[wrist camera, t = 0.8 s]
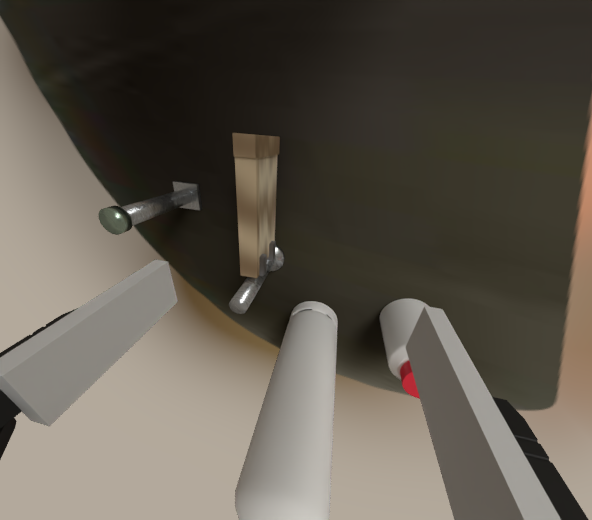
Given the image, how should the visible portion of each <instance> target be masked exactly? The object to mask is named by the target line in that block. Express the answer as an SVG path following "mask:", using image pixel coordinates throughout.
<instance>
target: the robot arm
mask: <svg viewBox="0 0 592 520" xmlns="http://www.w3.org/2000/svg"><path fill="white" fill-rule="evenodd" d="M177 302H178V300H177V297H176V292H175V288H174V284H173V280H172V276H171V272H170V268H169V264H168V262H167V261H161V260H154V261H152V262H150V263H149V264H147V265H146V266H145V267H143V268H141V269H139V270H138V271H136V272H135V273H133V274H131V275H130V276H128V277H127V278H125V279H124V280H122V281H121V282H119V283H117V284H116V285H114V286H113V287H111V288H109V289H108V290H106V291H105V292H103V293H101V294H100V295H98V296H97V297H96V298H94V299H92V300H90V301H89V302H87V303H86V304H84V305H82V306H81V307H79V308H77V309H75V310H73V311H70V312H68V313H65V314H63V315H61V316H59V317H58V318H56V319H54V320H53V321H51V322H50V323H48V324H46V326H45V327H41V328H40V329H38V330H37V331H35V332H34V333H33V334H32V335H29V336H27V337H25V338H24V339H22V340H21V341H19V342H17V343H16V344H14V345H12V346H11V347H9V348H8V349H6V350H4V351H3V352H1V353H0V459H1V457H2V455H3V452H4V450H5V448H6V446H7V444H8V442H9V439H10V437H11V435H12V433H13V431H14V429H15V425H16V420H15V418H14V417H15V416H16V415H18V414H19V413H20V412H21V411H22V412H23V413H24V414H25V415H26V416H27V417H28V418H29V419H30V420H31V421H34V422H37V423H40V424H44V425H47V426H50V425H51V424H52V423H53V422H55V421H56V420H57V419H58V417H60V415H62V414H63V413H64V412H65V411H66V410H67V409H68V408H69V407H70V406H71V405H72V404H73V403H74V402H75V401H76V400H77V399H78V398H79V397H80V396H81V395H82V394H83V393H84V392H85V391H86V390H88V388H90V387H91V386H92V385H93V384H94V383H95V382H96V381H97V380H98V379H99V378H100V377H101V376H102V375H103V374H104V373H105V372H106V371H107V370H108V369H109V368H110V367H111V366H112V365H113V364H114V363H115V362H116V361H117V360H118V359H119V358H121V356H123V355H124V354H125V353H126V352H127V351H128V350H129V349H130V348H131V347H132V346H133V345H134V344H135V343H136V342H137V341H138V340H139V339H140V338H141V337H142V336H143V335H144V334H145V333H146V332H147V331H148V330H149V329H150V328H151V327H152V326H153V325H155V324H156V323H157V322H158V321H159V320H160V319H161V318H162V317H163V316H164V315H165V314H166V313H167V312H168V311H169V310H170V309H171V308H172V307H173V306H174V305H175V304H176V303H177ZM406 351H407V354H408V358H409V361H410V365H411V369H412V372H413V376H414V379H415V383H416V386H417V390H418V393H419V397H420V400H421V404H422V407H423V411H424V414H425V417H426V421H427V425H428V428H429V432H430V435H431V439H432V442H433V445H434V449H435V453H436V456H437V460H438V463H439V467H440V470H441V474H442V477H443V481H444V484H445V488H446V491H447V495H448V498H449V502H450V505H451V509H452V512H453V516H454V519H455V520H588V518H587V517H586V515H585V514H584V512H583V510H582V509H581V507H580V506H579V504H578V503H577V501H576V500H575V498H574V496H573V495H572V493H571V492H570V490H569V489H568V487H567V485H566V484H565V482H564V481H563V479H562V477H561V476H560V474H559V473H558V471H557V470H556V468H555V466H554V465H553V463H551V462H550V461H549V457H548V456H547V454H546V452H545V451H544V449H543V448H542V446H541V444H538V442H537V438H536V437H535V435H534V433H533V432H532V430H531V429H530V427H529V426H528V424H527V422H526V421H525V419H524V418H523V417H522V416H521V415H520V414H519V413H518V412H517V411H516V410H515V409H514V408H513V407H512V406H511V404H510V403H509V402H508V401H507V400H503V399H499V398H494V397H492V396H491V395H490V393H489V391H488V389H487V388H486V386H485V384H484V382H483V380H482V379H481V377H480V375H479V373H478V372H477V370H476V368H475V366H474V365H473V363H472V361H471V359H470V357H469V356H468V354H467V352H466V350H465V349H464V347H463V345H462V343H461V341H460V340H459V338H458V336H457V334H456V333H455V331H454V329H453V327H452V326H451V324H450V322H449V320H448V318H447V317H446V315H445V313H444V311H443V310H442V309H438V308H432V307H426V306H424V308H423V310H422V312H421V314H420V317H419V319H418V321H417V323H416V325H415V327H414V330H413V332H412V334H411V336H410V338H409V341H408V343H407V345H406Z"/></svg>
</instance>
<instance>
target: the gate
mask: <svg viewBox="0 0 592 520" xmlns="http://www.w3.org/2000/svg"><path fill="white" fill-rule="evenodd" d="M279 145H280V137H276V136H265V135H253V134H241V133H233V152H234V156H235V172H236V192H237V212H238V232H239V252H240V272H241V276H247V277H253V278H258V276H264V274H265V273H266V266H267V259H268V257H269V260H270V261H273V260H274V258H275V248H276V241H275V213H276V184H277V155H278V154H279Z"/></svg>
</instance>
